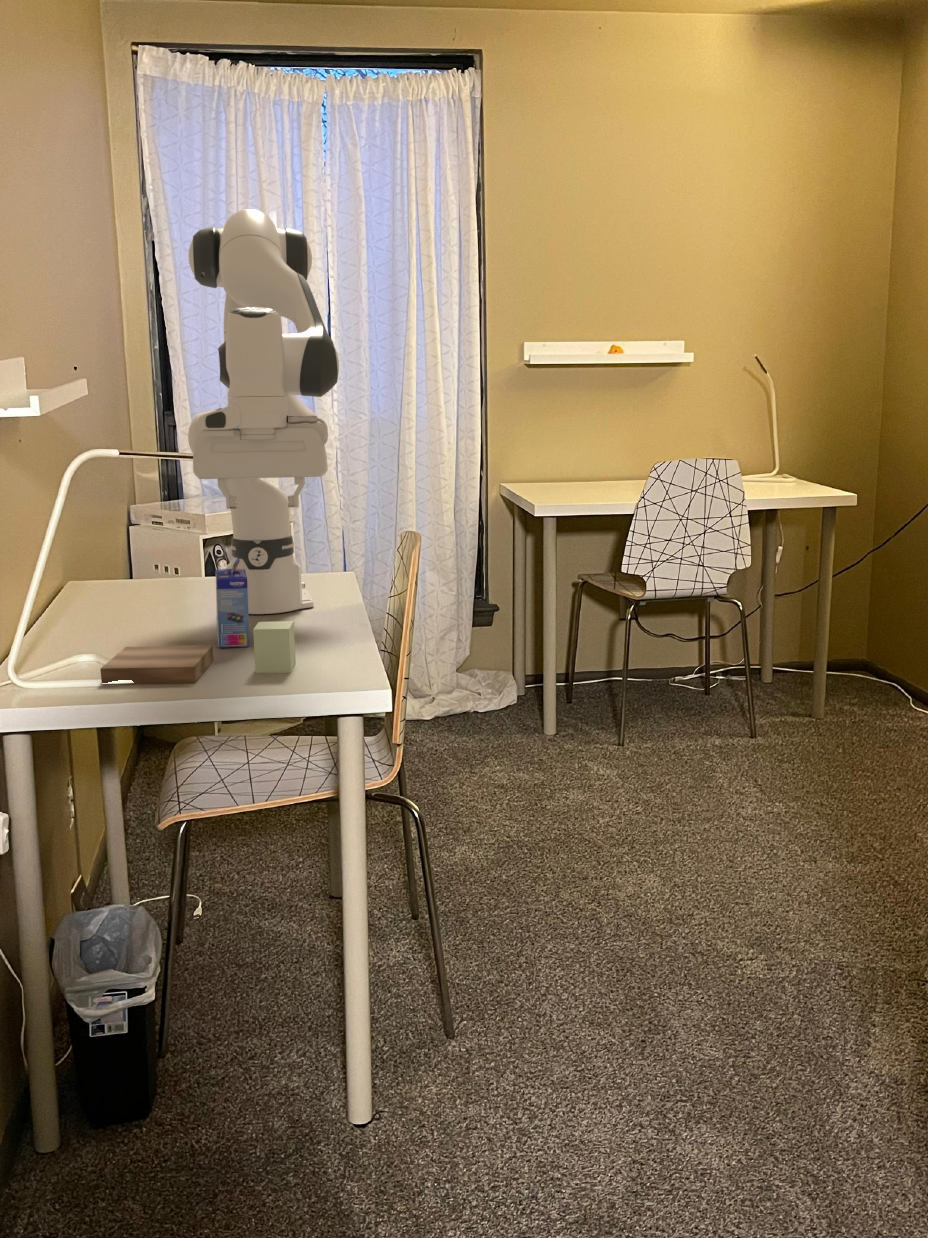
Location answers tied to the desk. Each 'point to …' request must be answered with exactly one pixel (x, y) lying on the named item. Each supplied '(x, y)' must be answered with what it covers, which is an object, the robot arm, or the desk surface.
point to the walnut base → (158, 664)
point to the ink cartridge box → (232, 607)
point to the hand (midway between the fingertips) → (263, 507)
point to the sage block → (274, 647)
